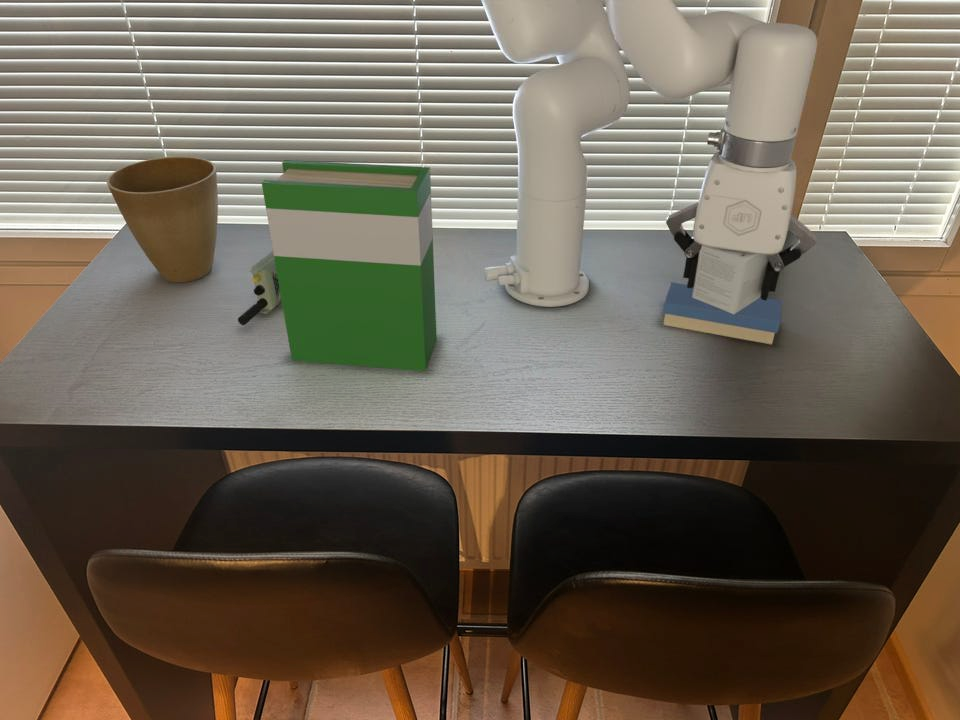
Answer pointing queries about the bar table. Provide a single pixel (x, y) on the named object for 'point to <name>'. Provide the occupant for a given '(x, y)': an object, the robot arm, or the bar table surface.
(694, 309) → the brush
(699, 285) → the product box
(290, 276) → the hardback book
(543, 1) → the robot arm
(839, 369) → the bar table surface
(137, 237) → the plant pot
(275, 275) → the handheld radio
